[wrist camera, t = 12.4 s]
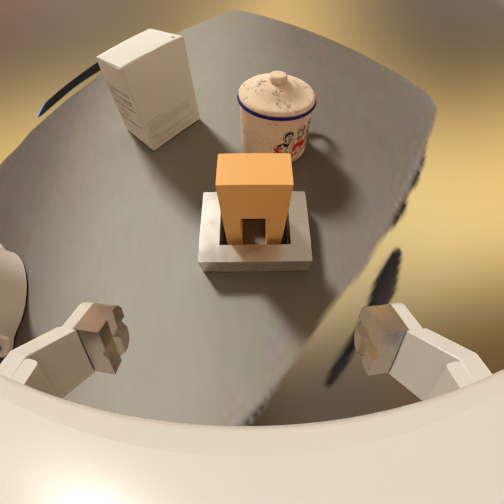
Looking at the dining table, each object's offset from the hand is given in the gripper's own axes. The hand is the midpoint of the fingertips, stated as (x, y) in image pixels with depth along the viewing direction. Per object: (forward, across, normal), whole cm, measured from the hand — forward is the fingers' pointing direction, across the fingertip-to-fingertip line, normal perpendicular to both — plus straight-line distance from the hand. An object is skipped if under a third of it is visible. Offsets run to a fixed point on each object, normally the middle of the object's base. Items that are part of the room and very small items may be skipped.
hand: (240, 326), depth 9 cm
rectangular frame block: (+22, -1, +5) cm, 22 cm away
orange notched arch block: (+22, -1, +5) cm, 22 cm away
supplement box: (+36, +13, -9) cm, 39 cm away
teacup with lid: (+33, -5, -6) cm, 33 cm away
